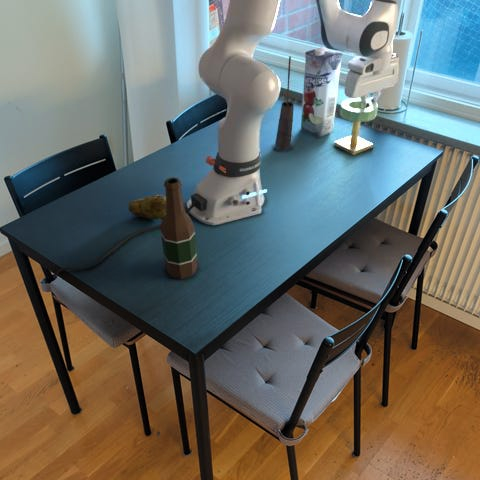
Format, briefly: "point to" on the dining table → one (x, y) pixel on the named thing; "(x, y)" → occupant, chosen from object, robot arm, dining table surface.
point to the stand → (354, 141)
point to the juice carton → (320, 90)
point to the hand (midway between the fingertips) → (368, 105)
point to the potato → (149, 207)
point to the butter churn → (285, 122)
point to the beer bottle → (178, 234)
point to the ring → (358, 110)
